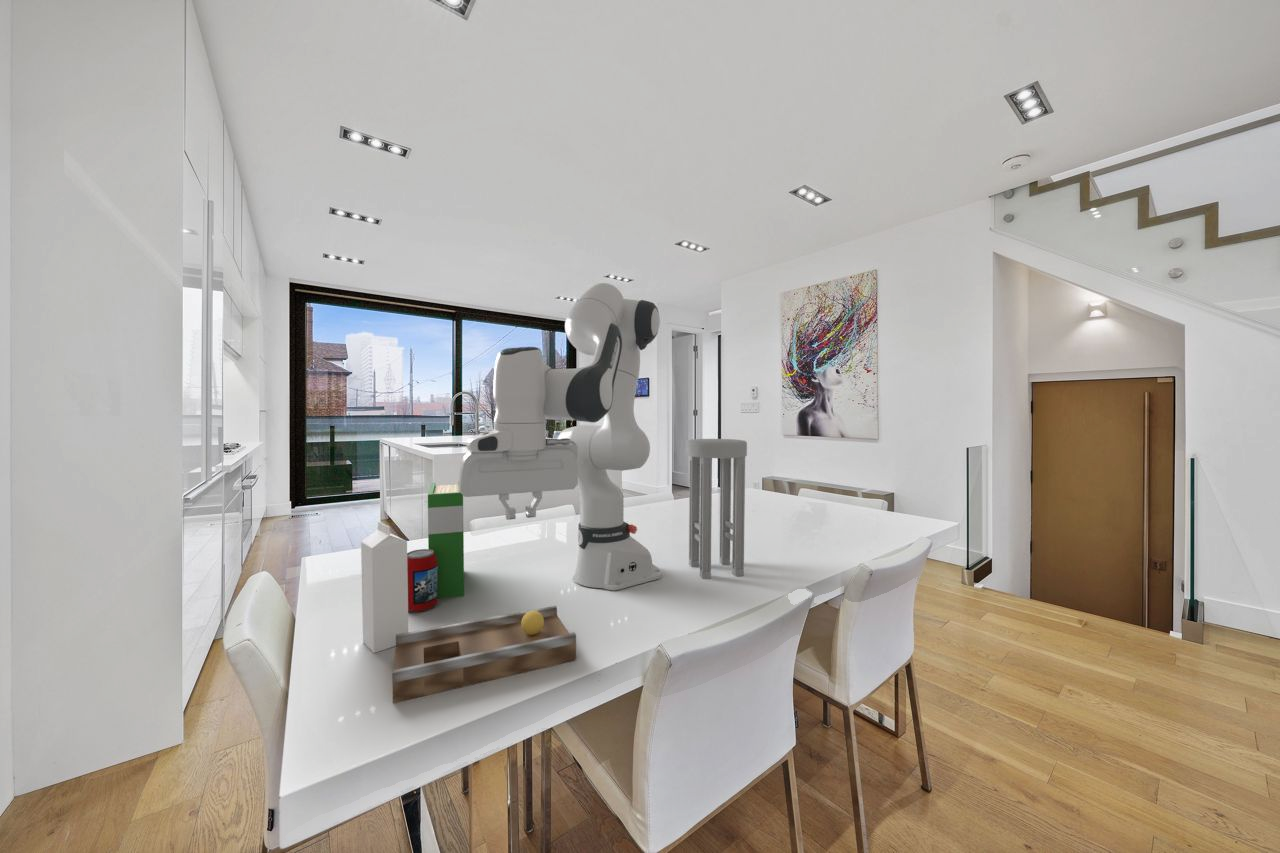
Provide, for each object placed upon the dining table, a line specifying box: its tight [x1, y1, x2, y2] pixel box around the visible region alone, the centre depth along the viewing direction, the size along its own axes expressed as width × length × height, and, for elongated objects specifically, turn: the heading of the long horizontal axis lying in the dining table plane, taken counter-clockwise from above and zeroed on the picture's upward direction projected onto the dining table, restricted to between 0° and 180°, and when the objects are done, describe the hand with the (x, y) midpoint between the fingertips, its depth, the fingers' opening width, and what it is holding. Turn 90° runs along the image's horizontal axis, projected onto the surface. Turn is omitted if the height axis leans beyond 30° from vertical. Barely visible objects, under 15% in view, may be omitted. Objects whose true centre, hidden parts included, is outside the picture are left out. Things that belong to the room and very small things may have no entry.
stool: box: [685, 438, 748, 580], centre depth 126 cm, size 16×16×35 cm
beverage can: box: [407, 548, 439, 613], centre depth 102 cm, size 7×7×12 cm
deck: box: [391, 605, 577, 704], centre depth 81 cm, size 28×13×4 cm, turn 115°
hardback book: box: [427, 481, 465, 600], centre depth 115 cm, size 18×7×24 cm, turn 21°
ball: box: [521, 610, 544, 635], centre depth 84 cm, size 4×4×4 cm
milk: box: [360, 521, 409, 654], centre depth 87 cm, size 6×6×22 cm
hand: (520, 517), depth 83 cm, fingers open, 2 cm apart
